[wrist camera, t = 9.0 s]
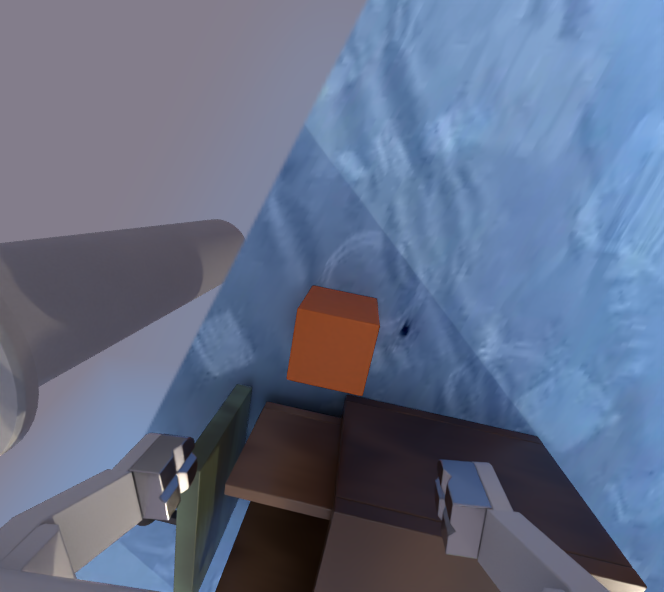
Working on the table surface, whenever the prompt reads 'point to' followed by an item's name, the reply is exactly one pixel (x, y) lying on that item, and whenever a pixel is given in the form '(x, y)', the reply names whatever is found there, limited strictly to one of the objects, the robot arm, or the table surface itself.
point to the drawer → (258, 498)
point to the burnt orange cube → (334, 340)
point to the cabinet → (420, 510)
